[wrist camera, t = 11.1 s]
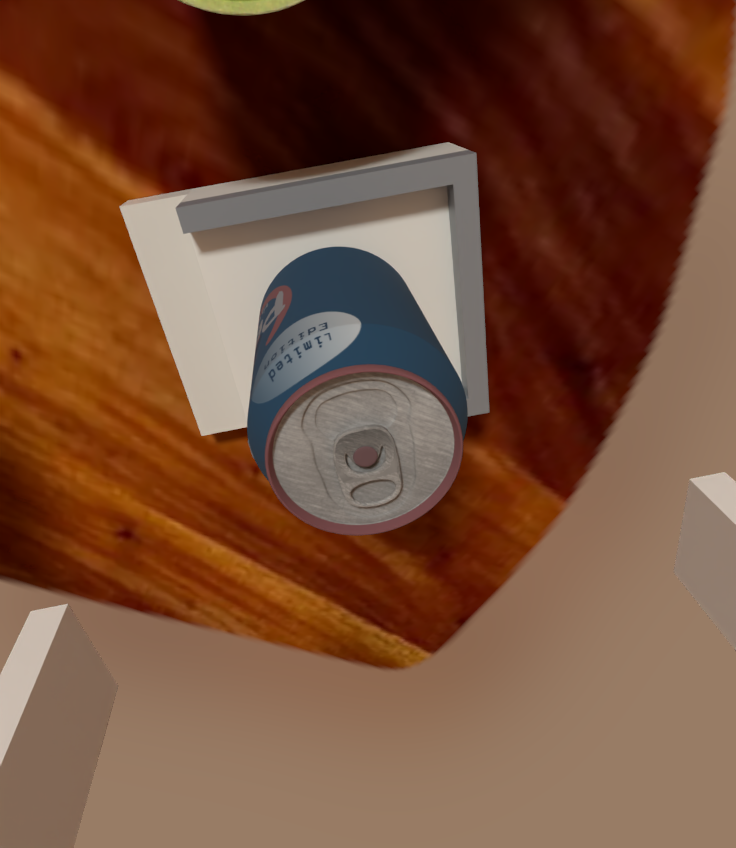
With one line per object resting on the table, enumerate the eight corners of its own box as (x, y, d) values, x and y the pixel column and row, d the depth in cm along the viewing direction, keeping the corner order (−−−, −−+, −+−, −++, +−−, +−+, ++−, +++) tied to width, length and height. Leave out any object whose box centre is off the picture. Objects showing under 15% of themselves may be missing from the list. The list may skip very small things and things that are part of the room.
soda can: (241, 257, 25) (208, 380, 15) (398, 223, 25) (473, 321, 15) (282, 396, 29) (278, 571, 18) (419, 366, 29) (492, 524, 18)
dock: (205, 422, 33) (193, 469, 29) (127, 200, 27) (98, 222, 23) (465, 372, 33) (489, 412, 29) (448, 142, 27) (476, 152, 23)
